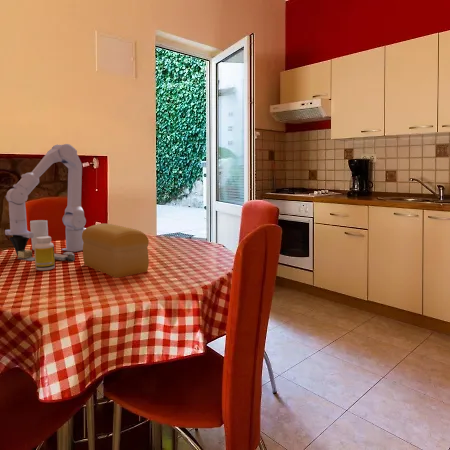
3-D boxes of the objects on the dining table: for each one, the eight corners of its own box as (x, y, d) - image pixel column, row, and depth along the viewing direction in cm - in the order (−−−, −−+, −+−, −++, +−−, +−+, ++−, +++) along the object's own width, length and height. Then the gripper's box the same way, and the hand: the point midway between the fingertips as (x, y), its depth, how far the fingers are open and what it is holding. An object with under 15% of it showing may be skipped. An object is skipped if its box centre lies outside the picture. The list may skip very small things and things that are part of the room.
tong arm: (40, 255, 156) (40, 247, 156) (73, 259, 149) (73, 252, 149) (34, 256, 154) (34, 249, 153) (67, 261, 146) (66, 253, 146)
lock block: (26, 255, 154) (26, 249, 154) (32, 256, 153) (32, 250, 152) (18, 257, 151) (17, 251, 151) (24, 258, 150) (23, 252, 149)
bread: (82, 264, 144) (80, 223, 142) (114, 259, 153) (113, 220, 150) (115, 278, 126) (114, 232, 124) (150, 271, 135) (149, 228, 133)
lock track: (26, 256, 155) (26, 256, 155) (40, 259, 151) (40, 258, 151) (17, 258, 151) (17, 257, 151) (31, 261, 147) (31, 260, 147)
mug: (45, 250, 167) (43, 222, 165) (28, 250, 166) (27, 222, 165) (54, 245, 177) (52, 219, 175) (38, 245, 176) (37, 219, 174)
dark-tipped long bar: (46, 254, 159) (45, 248, 158) (78, 260, 150) (78, 253, 150) (38, 256, 156) (38, 250, 155) (71, 261, 147) (70, 255, 147)
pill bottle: (58, 268, 137) (56, 237, 136) (39, 271, 133) (37, 239, 131) (50, 265, 142) (49, 235, 140) (32, 268, 137) (30, 237, 136)
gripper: (-4, 219, 151) (-1, 254, 153) (20, 222, 144) (22, 258, 146) (13, 217, 157) (16, 251, 159) (37, 220, 151) (39, 255, 152)
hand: (20, 254), depth 153 cm, fingers closed
